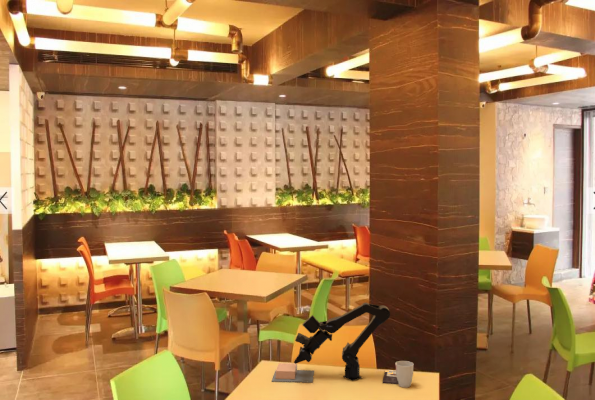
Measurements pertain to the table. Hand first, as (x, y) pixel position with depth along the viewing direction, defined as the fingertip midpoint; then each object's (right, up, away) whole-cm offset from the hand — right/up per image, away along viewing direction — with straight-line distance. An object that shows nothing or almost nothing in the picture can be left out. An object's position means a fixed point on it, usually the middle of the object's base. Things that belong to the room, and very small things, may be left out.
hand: (294, 362), depth 260 cm
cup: (+50, -6, -13) cm, 52 cm away
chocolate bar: (+47, -7, -2) cm, 47 cm away
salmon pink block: (-4, -4, 0) cm, 6 cm away
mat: (0, -7, 0) cm, 7 cm away
